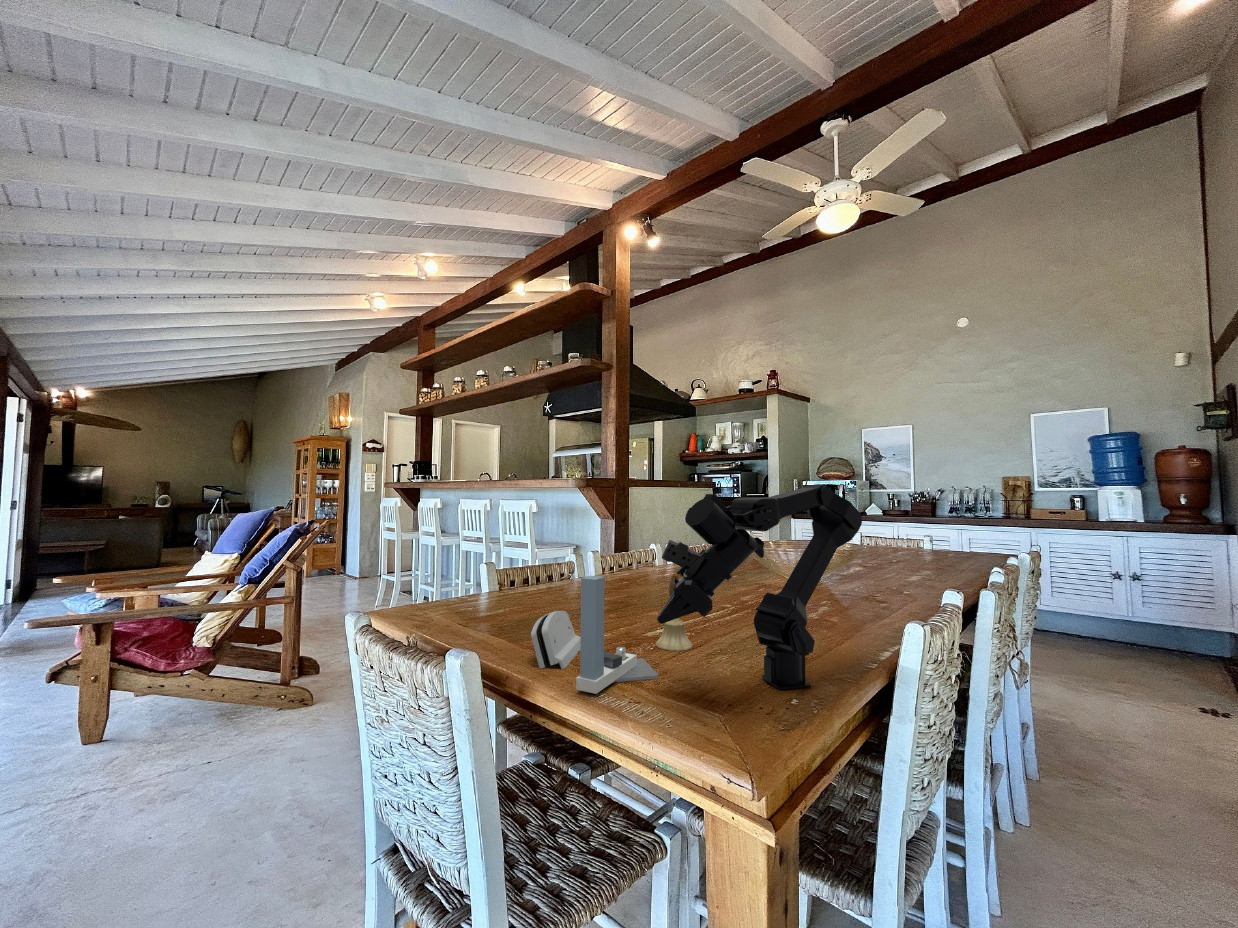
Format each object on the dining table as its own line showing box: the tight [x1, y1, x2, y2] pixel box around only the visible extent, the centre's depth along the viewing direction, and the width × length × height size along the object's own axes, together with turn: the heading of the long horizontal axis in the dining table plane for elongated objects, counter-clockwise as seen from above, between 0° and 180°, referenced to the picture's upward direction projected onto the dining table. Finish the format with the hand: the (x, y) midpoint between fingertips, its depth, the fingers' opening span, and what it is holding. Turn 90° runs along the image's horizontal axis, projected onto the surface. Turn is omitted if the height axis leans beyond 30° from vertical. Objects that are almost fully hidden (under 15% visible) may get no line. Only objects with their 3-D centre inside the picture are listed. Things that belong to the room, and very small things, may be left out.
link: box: [575, 575, 638, 695], centre depth 95 cm, size 16×4×19 cm, turn 153°
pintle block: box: [604, 646, 659, 684], centre depth 98 cm, size 13×11×4 cm
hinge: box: [530, 610, 581, 670], centre depth 109 cm, size 17×5×10 cm, turn 170°
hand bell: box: [655, 573, 693, 652], centre depth 116 cm, size 8×8×16 cm
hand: (658, 620), depth 89 cm, fingers closed
